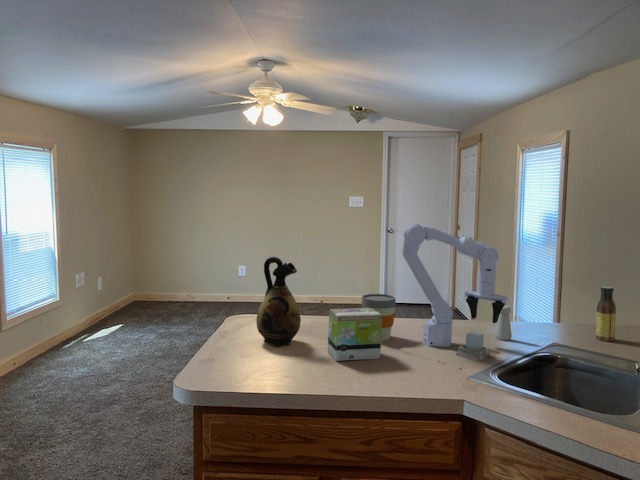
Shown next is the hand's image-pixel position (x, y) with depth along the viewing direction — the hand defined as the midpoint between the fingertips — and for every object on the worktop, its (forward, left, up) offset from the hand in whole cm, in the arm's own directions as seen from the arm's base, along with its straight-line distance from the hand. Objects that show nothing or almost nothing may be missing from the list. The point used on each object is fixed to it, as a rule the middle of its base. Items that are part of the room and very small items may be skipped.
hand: (484, 320), depth 166 cm
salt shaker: (+11, +8, -10) cm, 17 cm away
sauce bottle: (+51, +9, -10) cm, 53 cm away
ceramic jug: (-71, +9, -10) cm, 72 cm away
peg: (-7, -10, -9) cm, 15 cm away
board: (-5, -8, -10) cm, 14 cm away
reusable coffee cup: (-34, +14, -10) cm, 38 cm away
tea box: (-46, -6, -10) cm, 48 cm away
